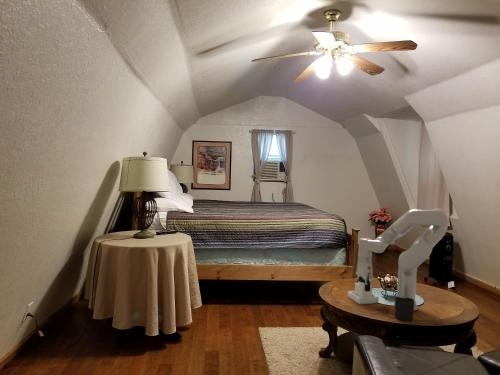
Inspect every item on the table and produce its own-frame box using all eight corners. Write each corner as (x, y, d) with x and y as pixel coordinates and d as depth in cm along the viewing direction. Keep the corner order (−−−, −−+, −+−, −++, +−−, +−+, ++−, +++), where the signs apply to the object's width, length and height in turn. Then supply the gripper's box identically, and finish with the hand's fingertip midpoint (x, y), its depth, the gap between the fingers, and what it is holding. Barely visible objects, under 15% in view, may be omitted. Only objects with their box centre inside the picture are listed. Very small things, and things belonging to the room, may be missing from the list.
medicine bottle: (372, 297, 224) (373, 277, 224) (362, 298, 222) (362, 278, 221) (364, 293, 231) (365, 273, 230) (354, 294, 228) (355, 274, 228)
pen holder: (406, 323, 194) (407, 303, 193) (390, 317, 201) (391, 298, 201) (417, 319, 199) (418, 300, 199) (400, 313, 207) (401, 295, 206)
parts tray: (378, 302, 222) (378, 297, 222) (358, 304, 219) (359, 298, 219) (366, 295, 234) (366, 290, 234) (347, 297, 231) (347, 291, 231)
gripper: (379, 262, 218) (377, 293, 219) (362, 255, 235) (360, 284, 235) (367, 263, 216) (366, 294, 217) (351, 256, 232) (350, 284, 233)
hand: (363, 288), depth 226 cm, fingers closed on medicine bottle, 7 cm apart
